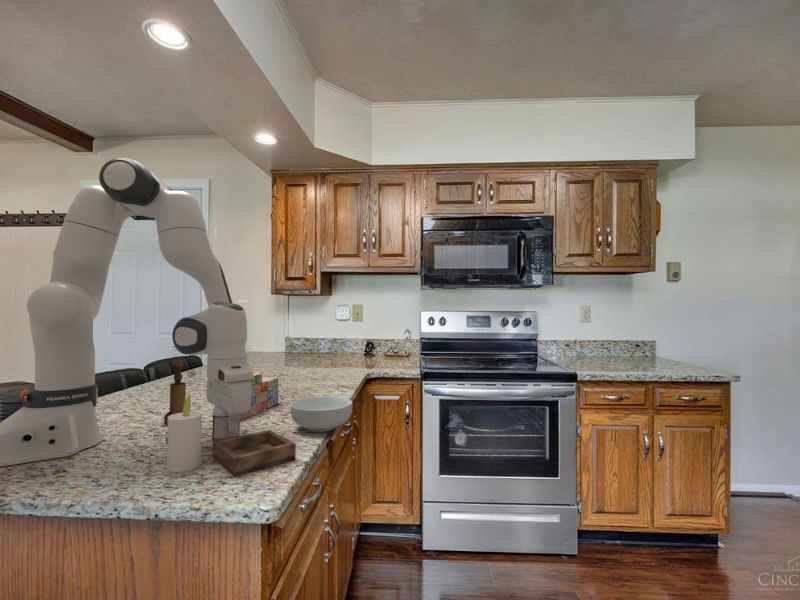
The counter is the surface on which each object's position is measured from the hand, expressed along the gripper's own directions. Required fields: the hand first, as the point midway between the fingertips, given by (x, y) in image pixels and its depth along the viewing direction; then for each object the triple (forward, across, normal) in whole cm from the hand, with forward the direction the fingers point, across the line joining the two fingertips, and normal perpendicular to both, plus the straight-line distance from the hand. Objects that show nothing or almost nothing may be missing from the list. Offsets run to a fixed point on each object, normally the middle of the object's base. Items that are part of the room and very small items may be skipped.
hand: (226, 426), depth 96 cm
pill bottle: (+4, 0, 0) cm, 4 cm away
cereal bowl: (+4, +4, +24) cm, 25 cm away
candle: (+4, +7, -11) cm, 14 cm away
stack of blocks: (+5, -26, +16) cm, 31 cm away
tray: (+4, +14, +1) cm, 14 cm away
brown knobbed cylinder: (+5, -29, -4) cm, 30 cm away
